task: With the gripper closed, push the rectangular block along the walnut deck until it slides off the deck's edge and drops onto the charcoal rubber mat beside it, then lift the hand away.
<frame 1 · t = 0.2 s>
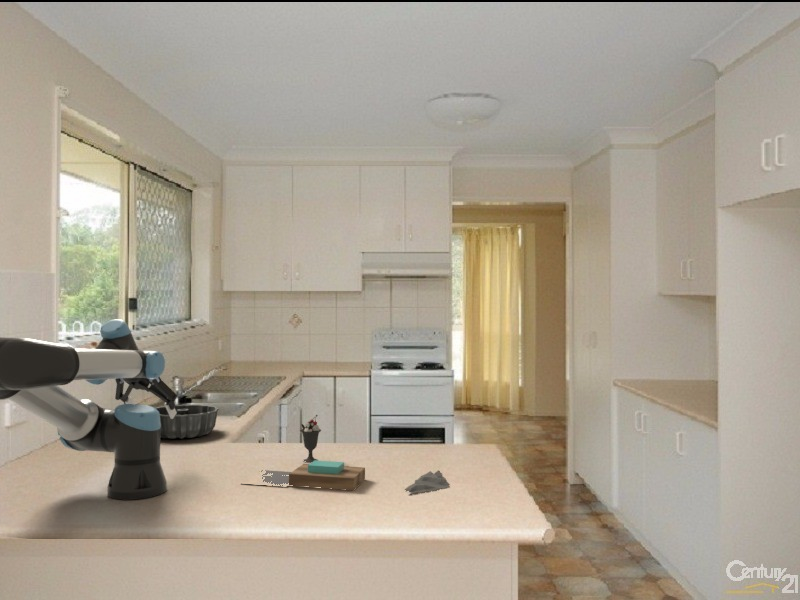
hand: (154, 414, 216), 15 cm above the counter, tool tilted 35°, fingers open, 13 cm apart
cloth: (428, 486, 196), on the counter
deck: (327, 482, 196), on the counter
squash: (132, 445, 242), on the counter
mat: (274, 479, 199), on the counter
rectangular block: (326, 470, 196), point 3 cm above the counter, touching deck
sundae: (310, 461, 221), on the counter
bundt pan: (182, 435, 260), on the counter
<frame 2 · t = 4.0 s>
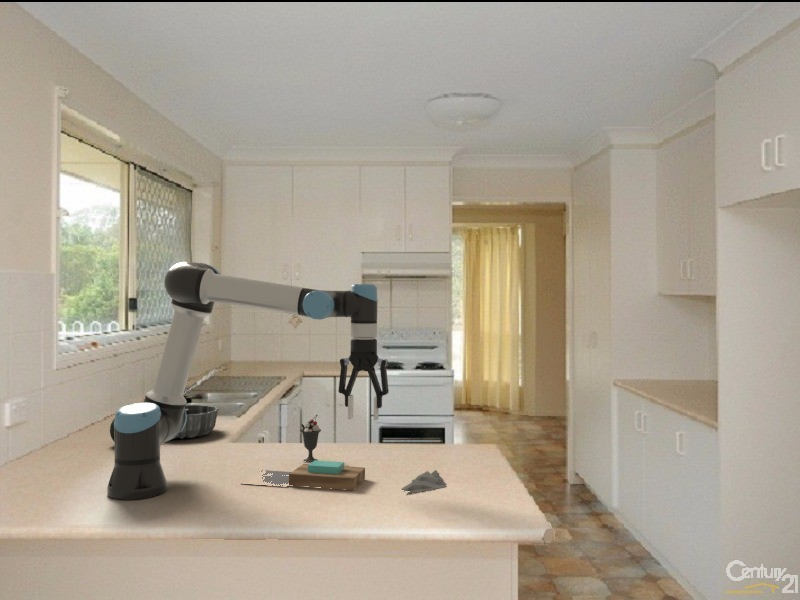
hand: (363, 418, 193), 19 cm above the counter, tool pointing down, fingers open, 7 cm apart
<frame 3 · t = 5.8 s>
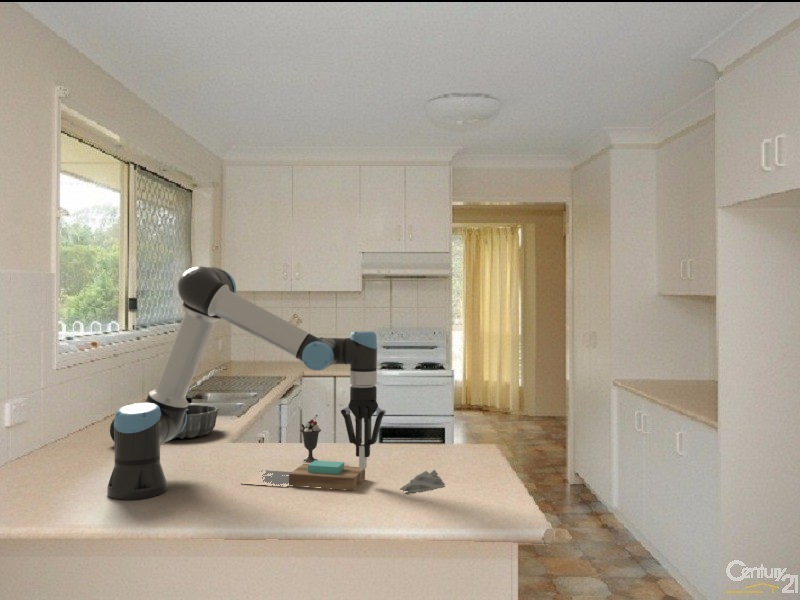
hand: (362, 468, 193), 5 cm above the counter, tool pointing down, fingers closed
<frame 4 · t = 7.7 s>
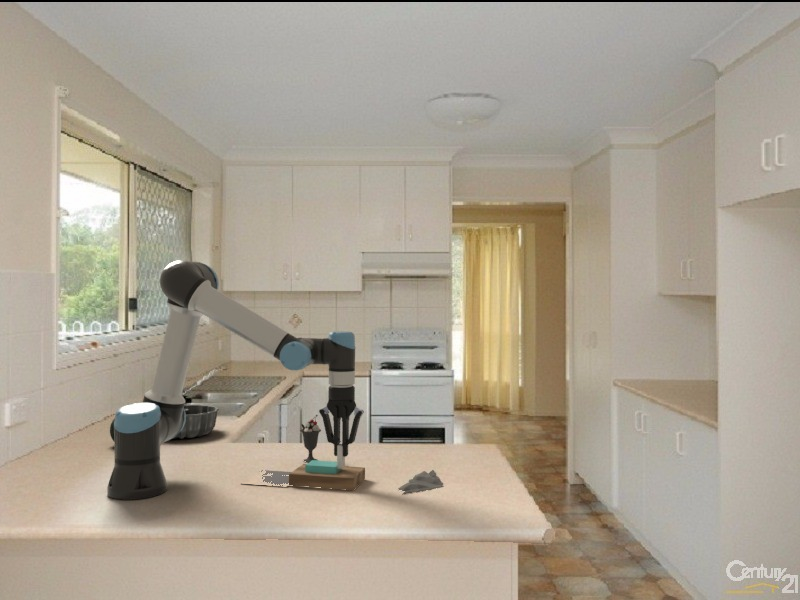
hand: (340, 467, 195), 5 cm above the counter, tool pointing down, fingers closed
rectangular block: (323, 470, 196), point 4 cm above the counter
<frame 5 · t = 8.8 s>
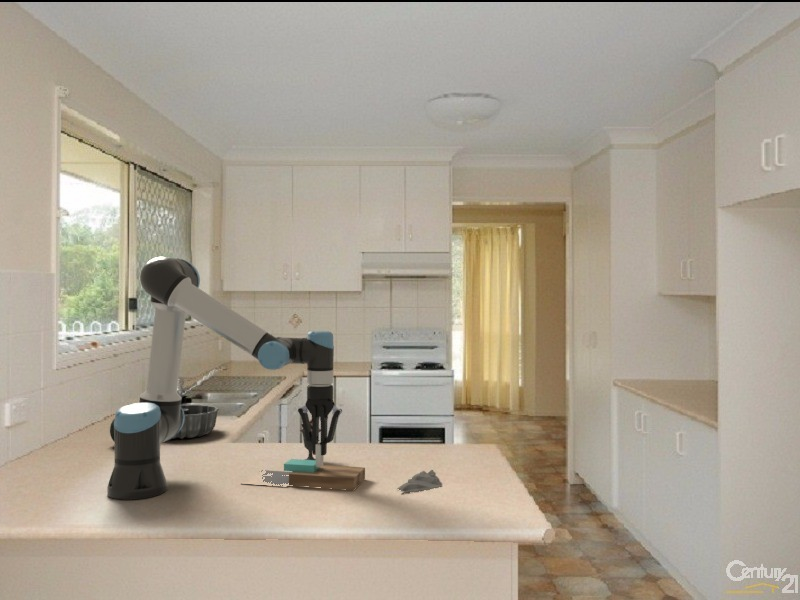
hand: (319, 466, 196), 5 cm above the counter, tool pointing down, fingers closed
rectangular block: (302, 469, 197), point 3 cm above the counter, touching deck
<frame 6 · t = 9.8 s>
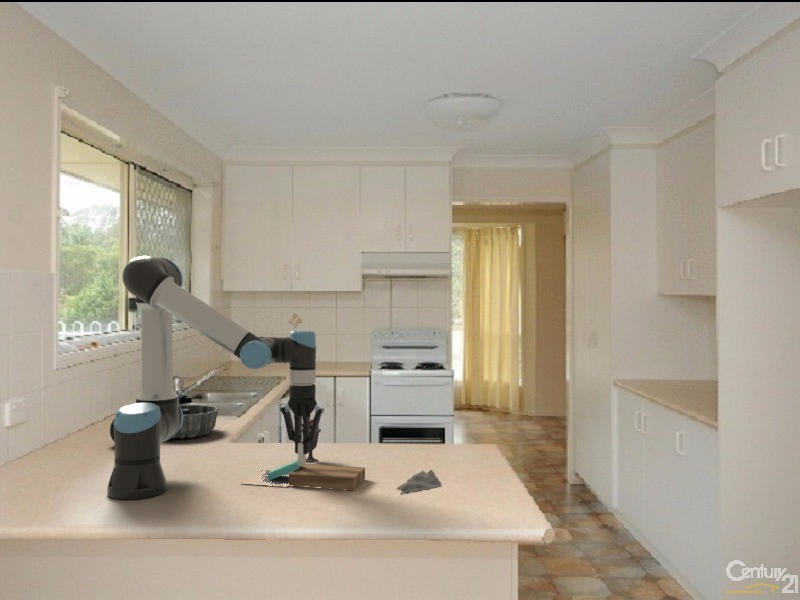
hand: (301, 464, 197), 5 cm above the counter, tool pointing down, fingers closed
rectangular block: (286, 472, 198), point 2 cm above the counter, tilted 24°, touching gripper
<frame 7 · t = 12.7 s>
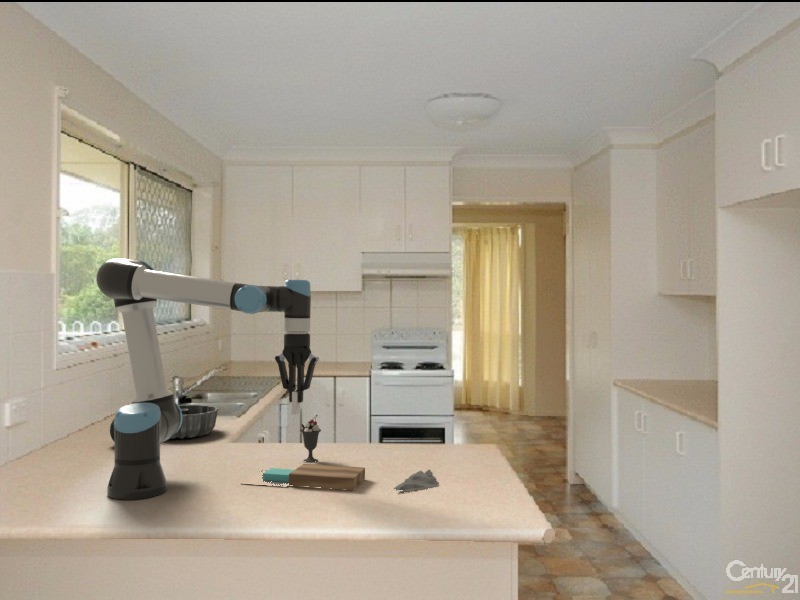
hand: (295, 413, 198), 20 cm above the counter, tool pointing down, fingers closed
rectangular block: (281, 478, 199), resting on mat
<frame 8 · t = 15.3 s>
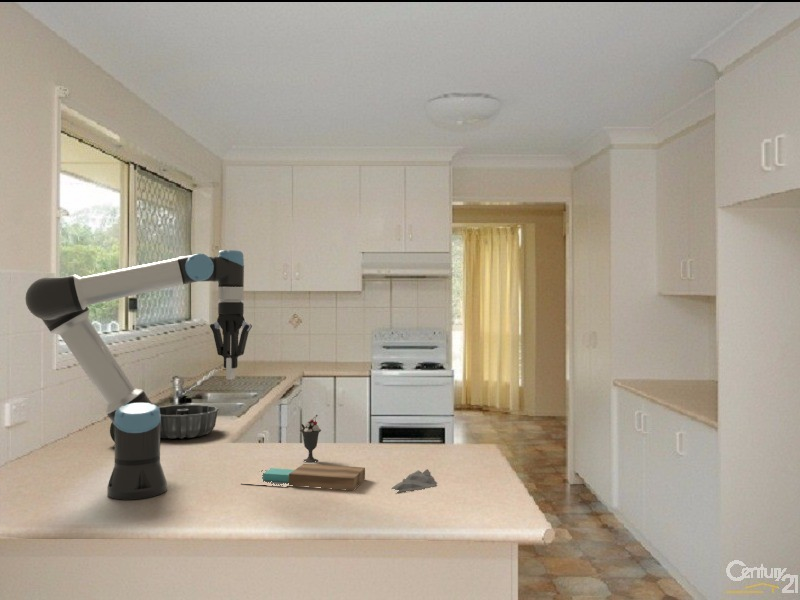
hand: (230, 378, 206), 28 cm above the counter, tool pointing down, fingers closed
at the end: rectangular block resting on mat; rectangular block inside the target area on the mat (2.4 cm from its centre), point 0.3 cm above the mat's base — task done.
